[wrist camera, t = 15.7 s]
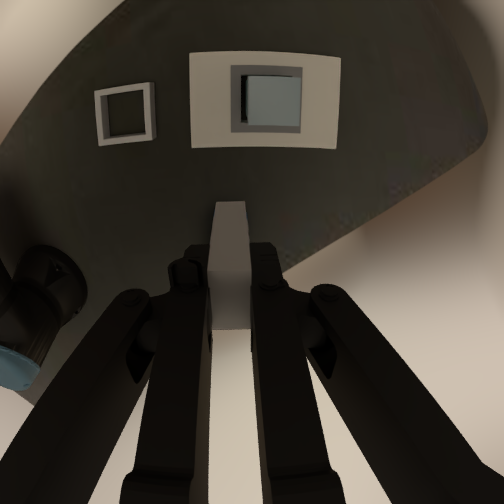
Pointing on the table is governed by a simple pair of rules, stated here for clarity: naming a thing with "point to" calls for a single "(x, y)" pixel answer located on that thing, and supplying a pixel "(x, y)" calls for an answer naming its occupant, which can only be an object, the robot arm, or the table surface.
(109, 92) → the grey square frame
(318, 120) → the port
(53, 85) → the table surface
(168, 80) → the table surface
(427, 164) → the table surface
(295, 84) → the plug
